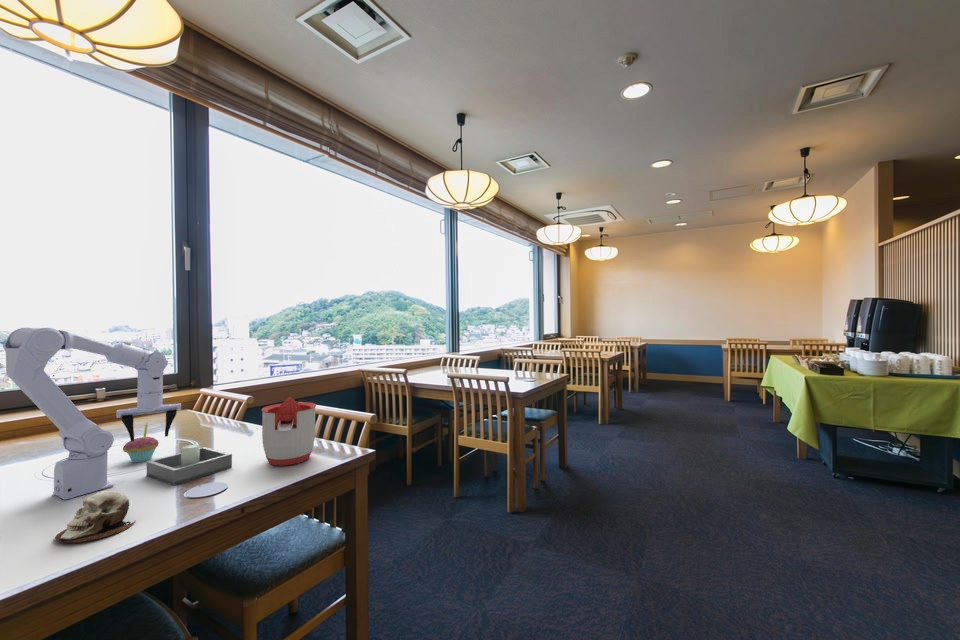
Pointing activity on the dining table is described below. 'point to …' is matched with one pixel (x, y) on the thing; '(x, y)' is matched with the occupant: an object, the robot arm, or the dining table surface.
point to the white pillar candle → (190, 455)
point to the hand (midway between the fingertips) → (149, 438)
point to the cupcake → (141, 448)
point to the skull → (97, 518)
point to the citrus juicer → (288, 431)
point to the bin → (175, 474)
